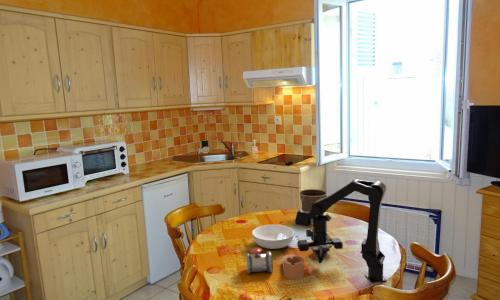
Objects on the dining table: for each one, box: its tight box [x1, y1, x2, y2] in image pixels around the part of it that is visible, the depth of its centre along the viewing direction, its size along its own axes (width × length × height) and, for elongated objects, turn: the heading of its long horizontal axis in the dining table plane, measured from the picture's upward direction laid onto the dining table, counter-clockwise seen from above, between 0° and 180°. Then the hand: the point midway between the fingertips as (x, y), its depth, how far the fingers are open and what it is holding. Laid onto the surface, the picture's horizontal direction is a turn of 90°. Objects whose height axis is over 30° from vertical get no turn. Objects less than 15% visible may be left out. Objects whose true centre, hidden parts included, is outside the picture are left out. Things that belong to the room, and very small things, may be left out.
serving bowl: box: [251, 224, 295, 250], centre depth 183 cm, size 21×21×7 cm
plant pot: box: [298, 188, 328, 216], centre depth 217 cm, size 16×16×16 cm
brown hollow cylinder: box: [282, 253, 305, 281], centre depth 158 cm, size 18×8×7 cm, turn 178°
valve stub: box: [245, 247, 274, 274], centre depth 157 cm, size 10×9×10 cm
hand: (319, 262), depth 159 cm, fingers closed
